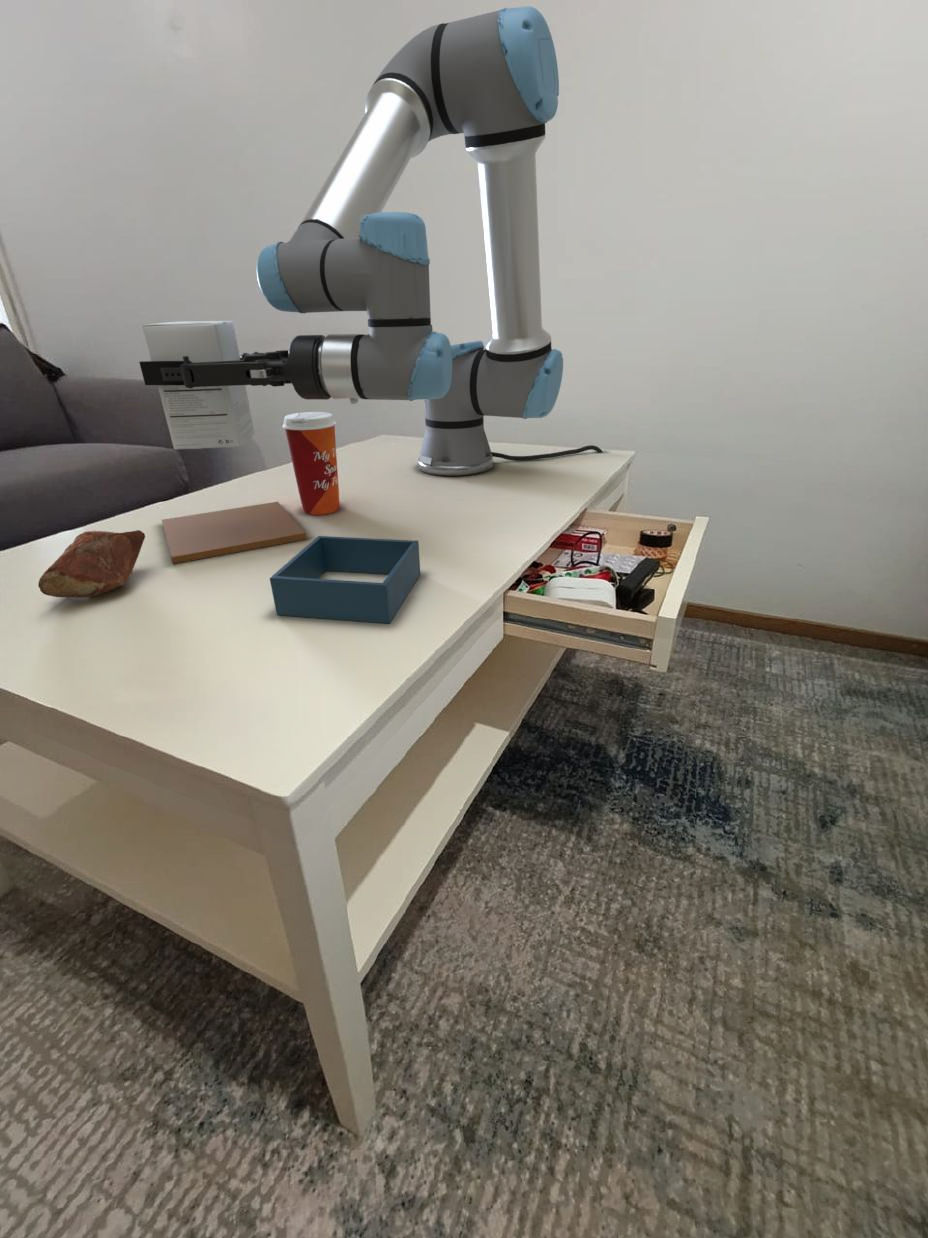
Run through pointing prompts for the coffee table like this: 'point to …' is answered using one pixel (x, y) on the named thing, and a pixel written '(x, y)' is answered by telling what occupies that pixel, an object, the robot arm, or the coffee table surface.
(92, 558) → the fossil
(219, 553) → the cork mat
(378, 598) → the crate
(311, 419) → the coffee cup
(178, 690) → the coffee table surface
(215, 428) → the white product box
